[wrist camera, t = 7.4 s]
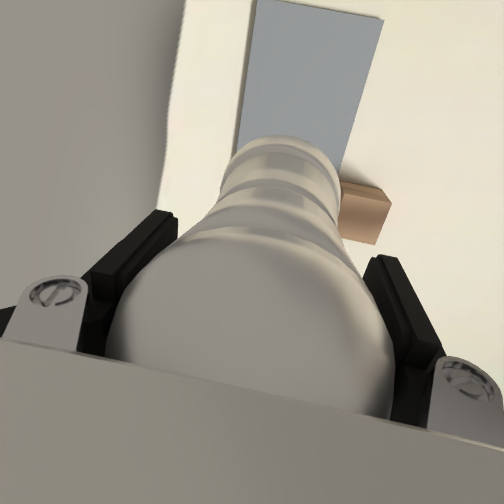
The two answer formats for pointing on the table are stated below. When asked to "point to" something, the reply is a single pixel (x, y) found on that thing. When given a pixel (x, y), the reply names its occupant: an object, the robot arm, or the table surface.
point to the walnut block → (362, 212)
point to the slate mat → (306, 74)
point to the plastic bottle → (264, 291)
